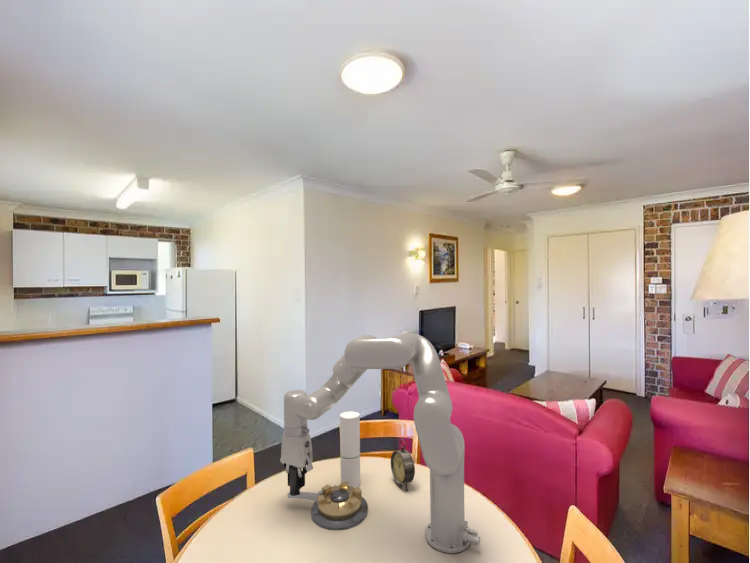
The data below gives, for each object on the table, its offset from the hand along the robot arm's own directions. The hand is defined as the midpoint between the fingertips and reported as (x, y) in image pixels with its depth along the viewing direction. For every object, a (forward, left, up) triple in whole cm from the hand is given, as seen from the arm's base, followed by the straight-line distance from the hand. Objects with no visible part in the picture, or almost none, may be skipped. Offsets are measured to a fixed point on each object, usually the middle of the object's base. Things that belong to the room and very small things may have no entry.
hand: (296, 485), depth 119 cm
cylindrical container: (-8, -20, -7) cm, 22 cm away
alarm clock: (-25, -29, -7) cm, 39 cm away
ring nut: (-9, -3, -5) cm, 11 cm away
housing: (-14, -5, -7) cm, 16 cm away
